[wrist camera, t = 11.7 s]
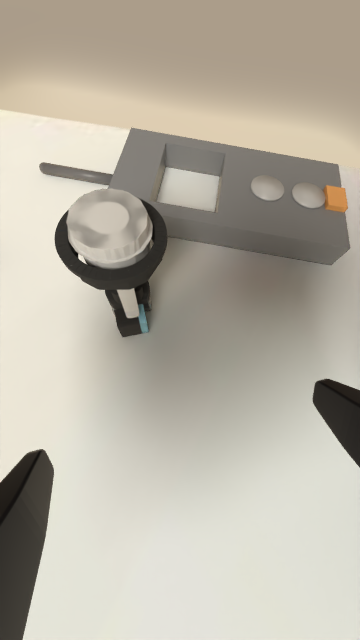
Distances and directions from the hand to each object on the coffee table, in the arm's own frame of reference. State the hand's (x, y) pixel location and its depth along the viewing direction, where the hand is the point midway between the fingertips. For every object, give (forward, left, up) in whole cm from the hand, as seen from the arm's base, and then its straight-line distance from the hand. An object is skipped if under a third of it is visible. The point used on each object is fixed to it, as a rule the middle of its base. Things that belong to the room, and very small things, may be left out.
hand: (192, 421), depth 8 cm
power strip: (+3, -21, -10) cm, 24 cm away
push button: (+5, -8, -10) cm, 14 cm away
